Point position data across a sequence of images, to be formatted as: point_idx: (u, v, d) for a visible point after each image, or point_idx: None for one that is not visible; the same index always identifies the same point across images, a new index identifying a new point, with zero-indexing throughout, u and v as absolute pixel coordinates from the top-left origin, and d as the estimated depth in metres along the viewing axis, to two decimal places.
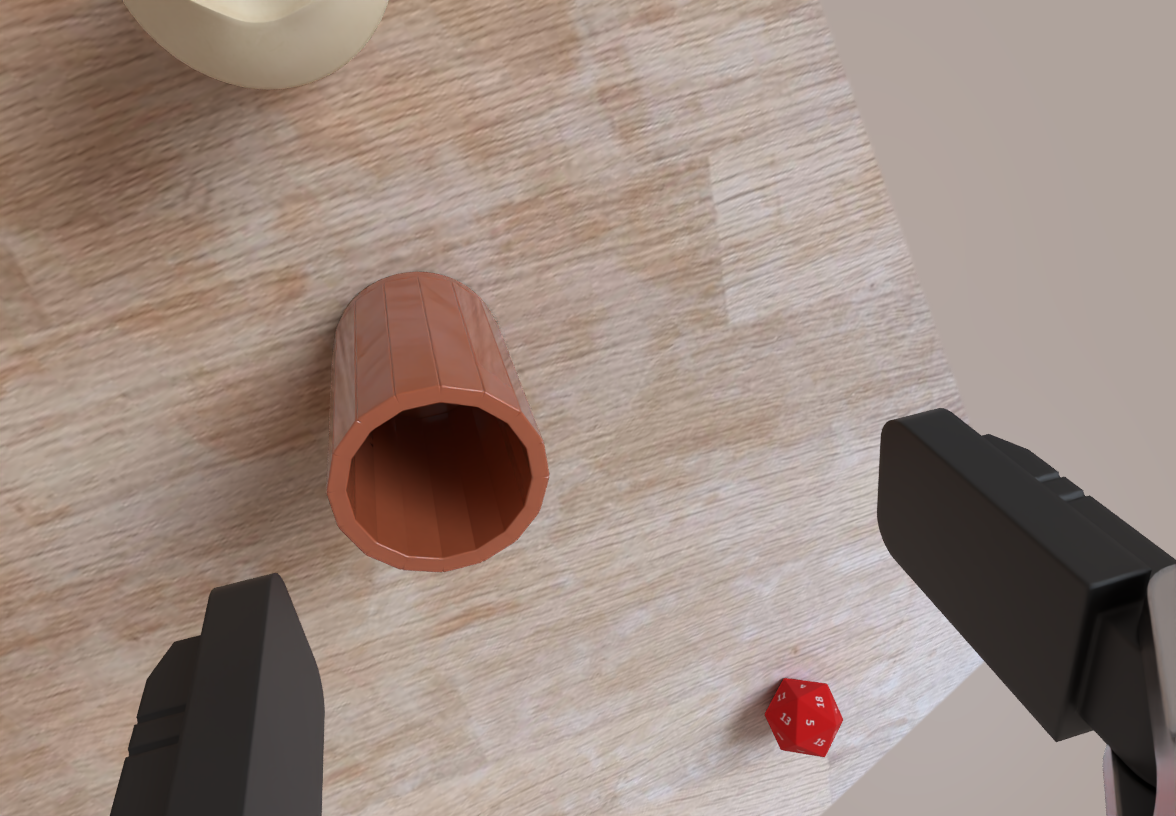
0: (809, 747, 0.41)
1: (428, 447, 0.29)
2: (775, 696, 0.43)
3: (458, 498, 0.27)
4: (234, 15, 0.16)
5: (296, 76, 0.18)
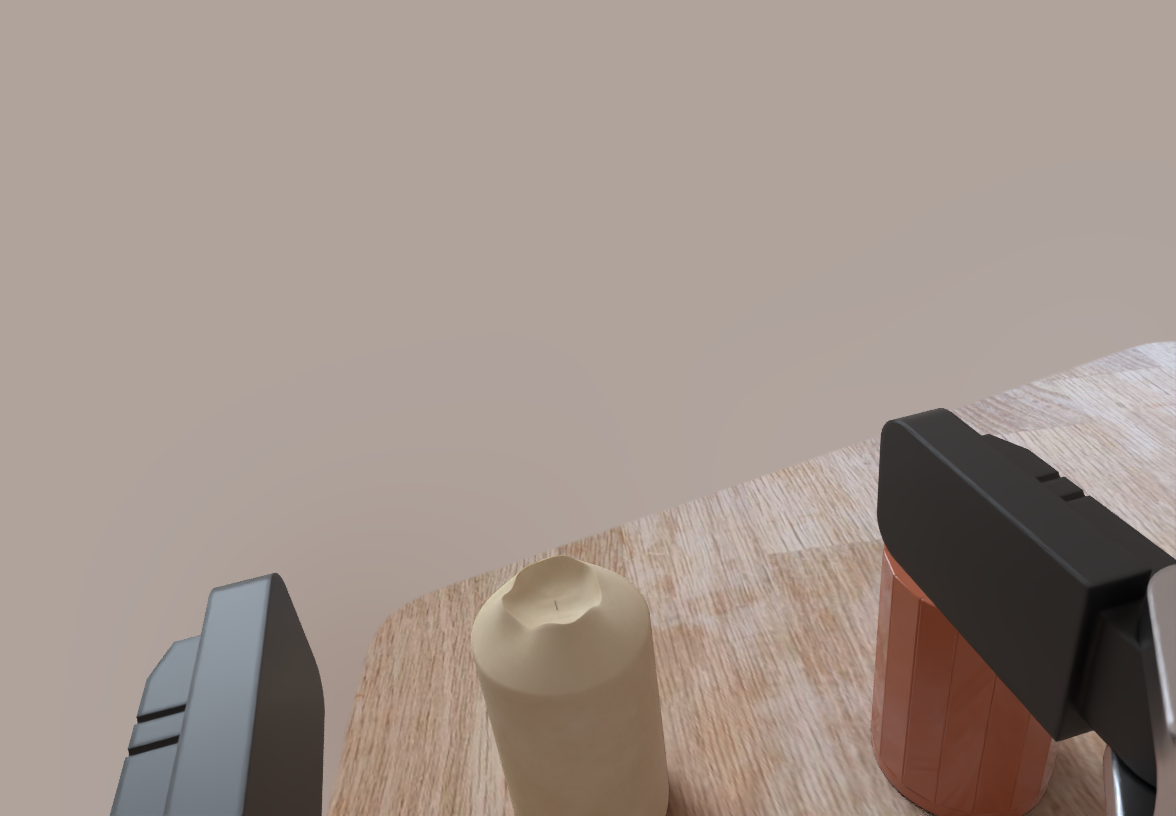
0: None
1: None
2: None
3: None
4: (594, 608, 0.25)
5: (641, 607, 0.26)
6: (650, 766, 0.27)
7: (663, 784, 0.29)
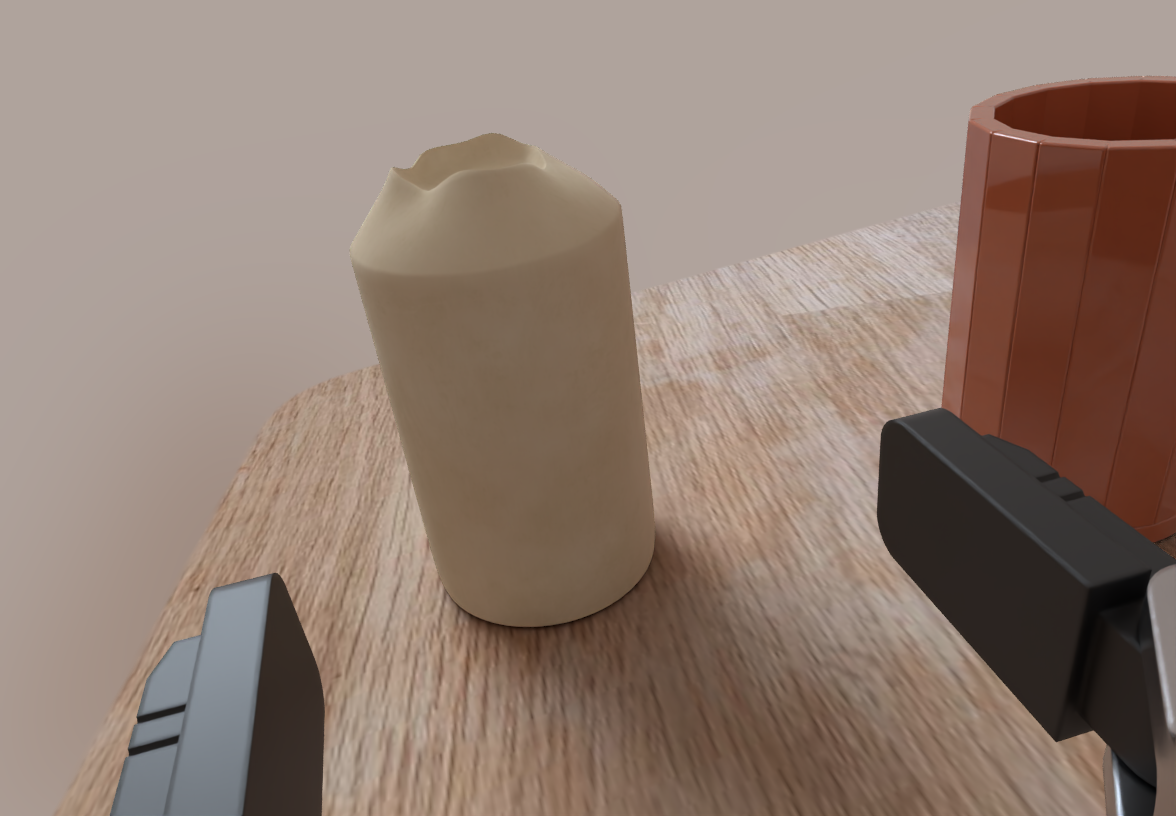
0: None
1: None
2: None
3: None
4: (534, 171, 0.16)
5: (607, 194, 0.17)
6: (626, 455, 0.18)
7: (646, 504, 0.20)
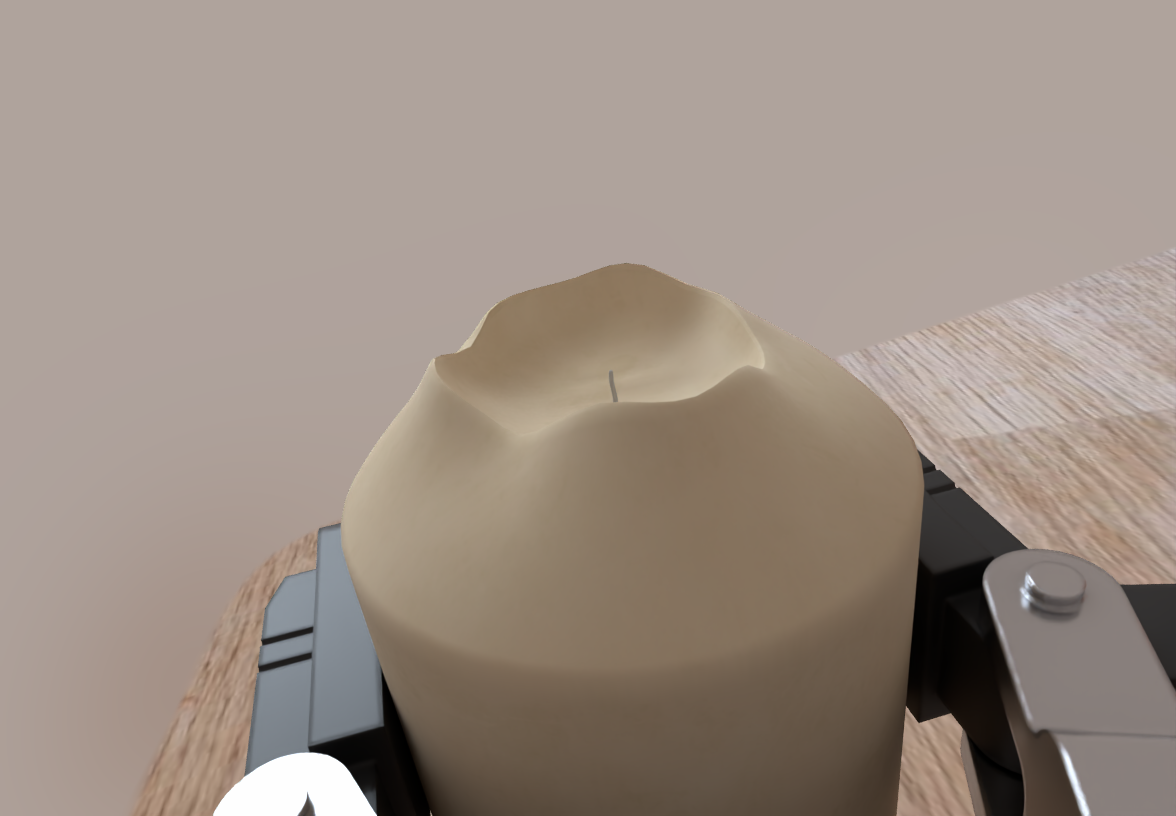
0: None
1: None
2: None
3: None
4: (750, 377, 0.07)
5: (880, 401, 0.08)
6: None
7: None
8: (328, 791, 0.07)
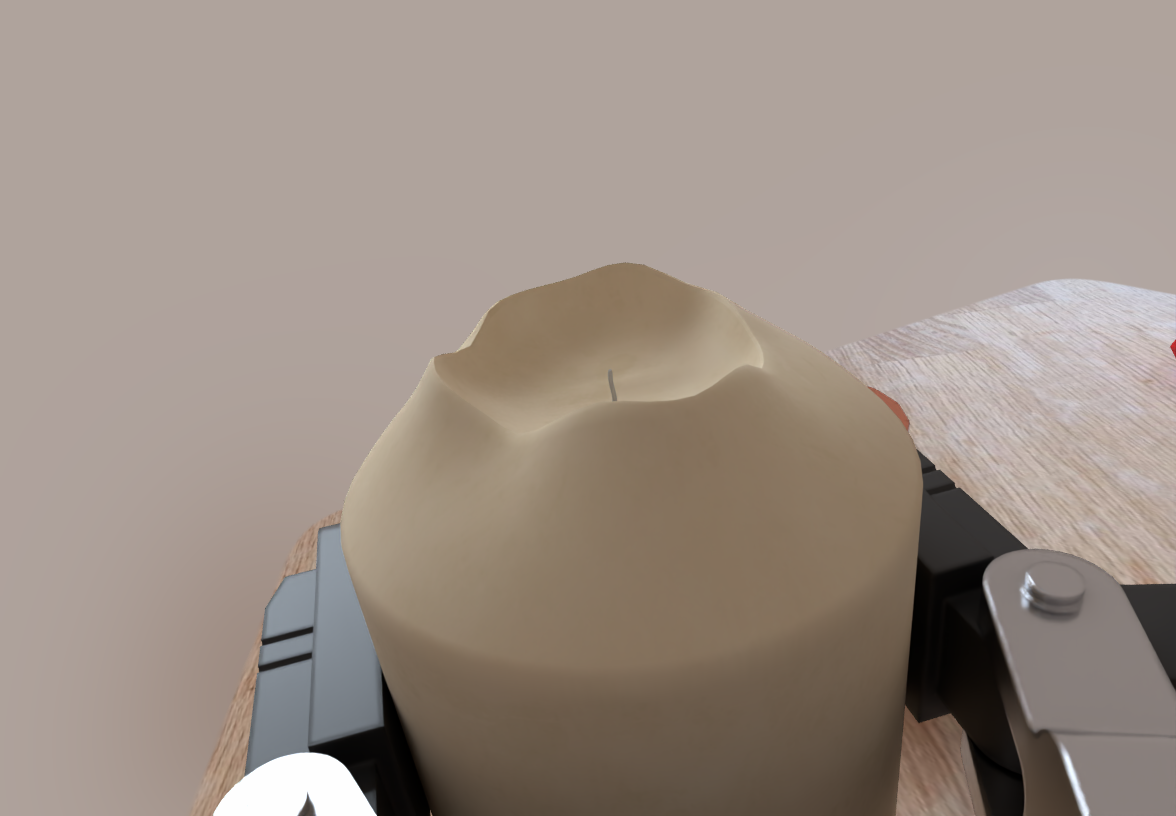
0: None
1: None
2: None
3: None
4: (750, 376, 0.07)
5: (878, 400, 0.08)
6: None
7: None
8: (329, 791, 0.07)
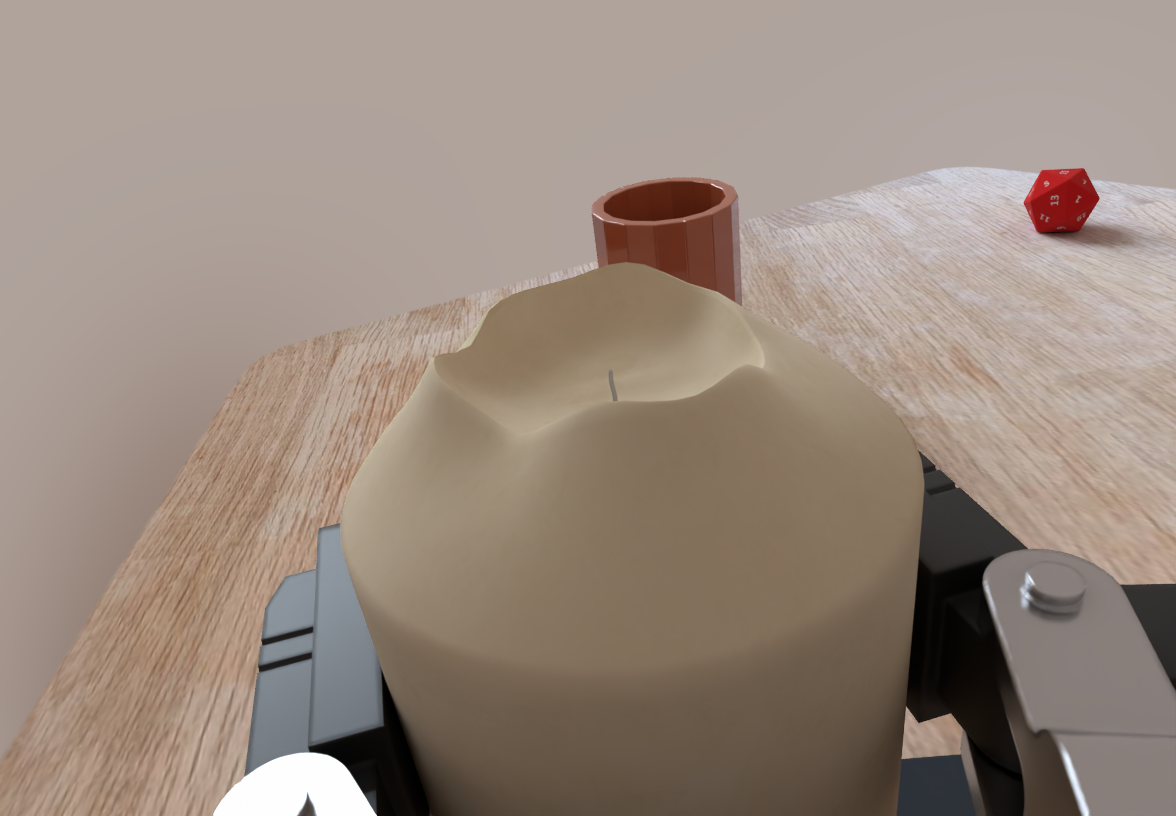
0: (1071, 174, 0.48)
1: None
2: (1050, 224, 0.49)
3: None
4: (750, 376, 0.07)
5: (878, 400, 0.08)
6: None
7: None
8: (328, 791, 0.07)
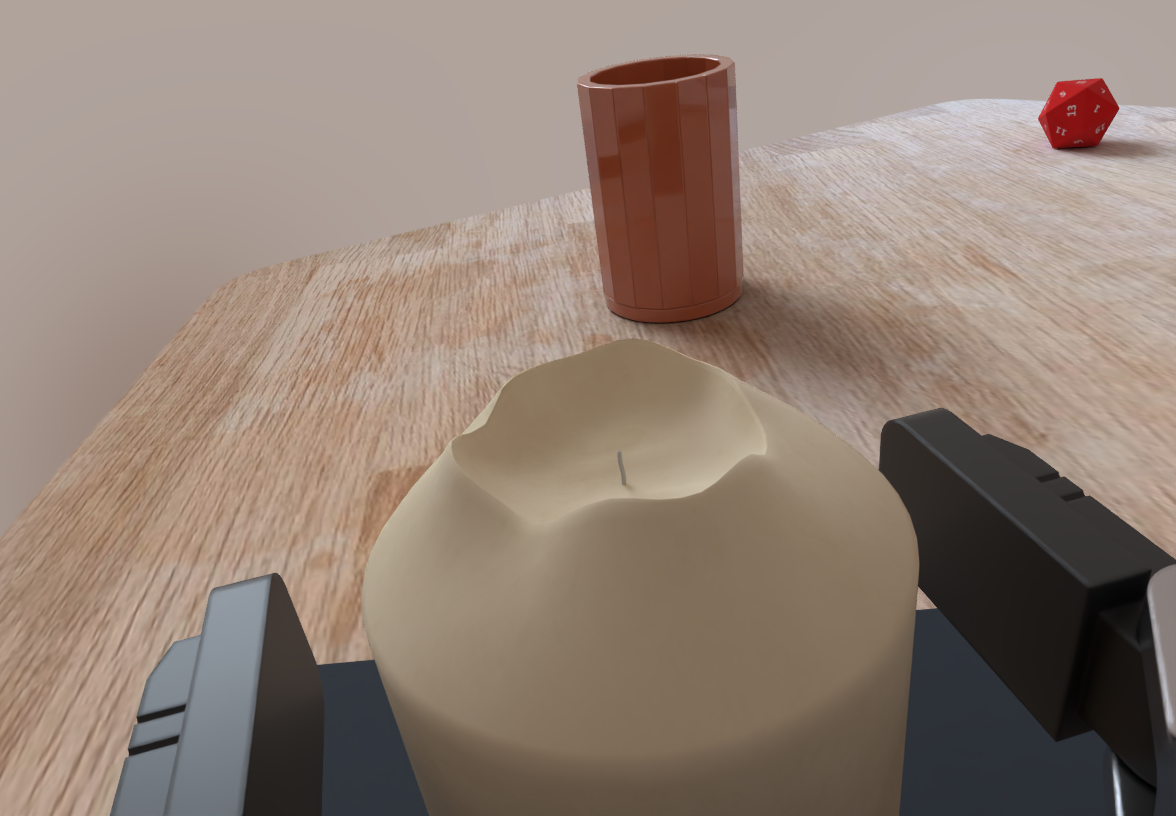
0: (1089, 83, 0.45)
1: None
2: (1066, 137, 0.46)
3: None
4: (754, 464, 0.08)
5: (876, 476, 0.09)
6: None
7: None
8: None
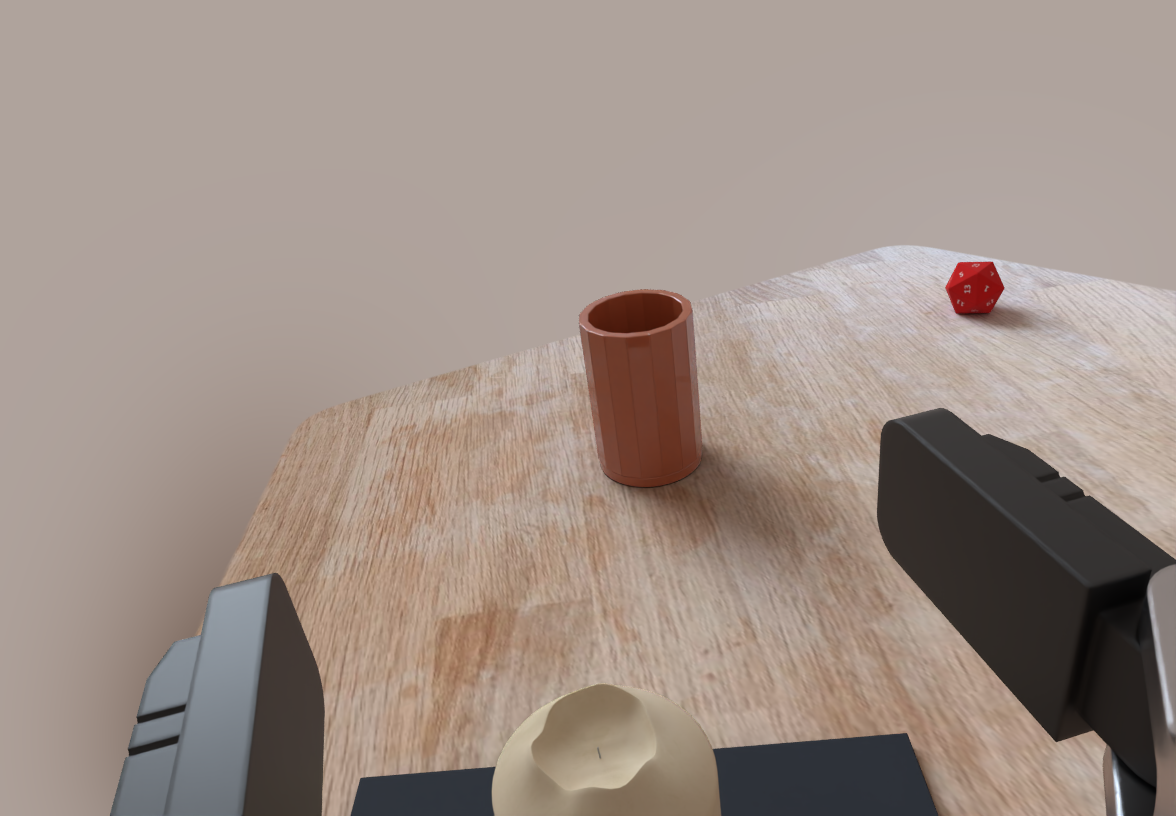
0: (981, 268, 0.57)
1: None
2: (964, 307, 0.58)
3: None
4: (648, 761, 0.20)
5: (705, 753, 0.21)
6: None
7: None
8: None
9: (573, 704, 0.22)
